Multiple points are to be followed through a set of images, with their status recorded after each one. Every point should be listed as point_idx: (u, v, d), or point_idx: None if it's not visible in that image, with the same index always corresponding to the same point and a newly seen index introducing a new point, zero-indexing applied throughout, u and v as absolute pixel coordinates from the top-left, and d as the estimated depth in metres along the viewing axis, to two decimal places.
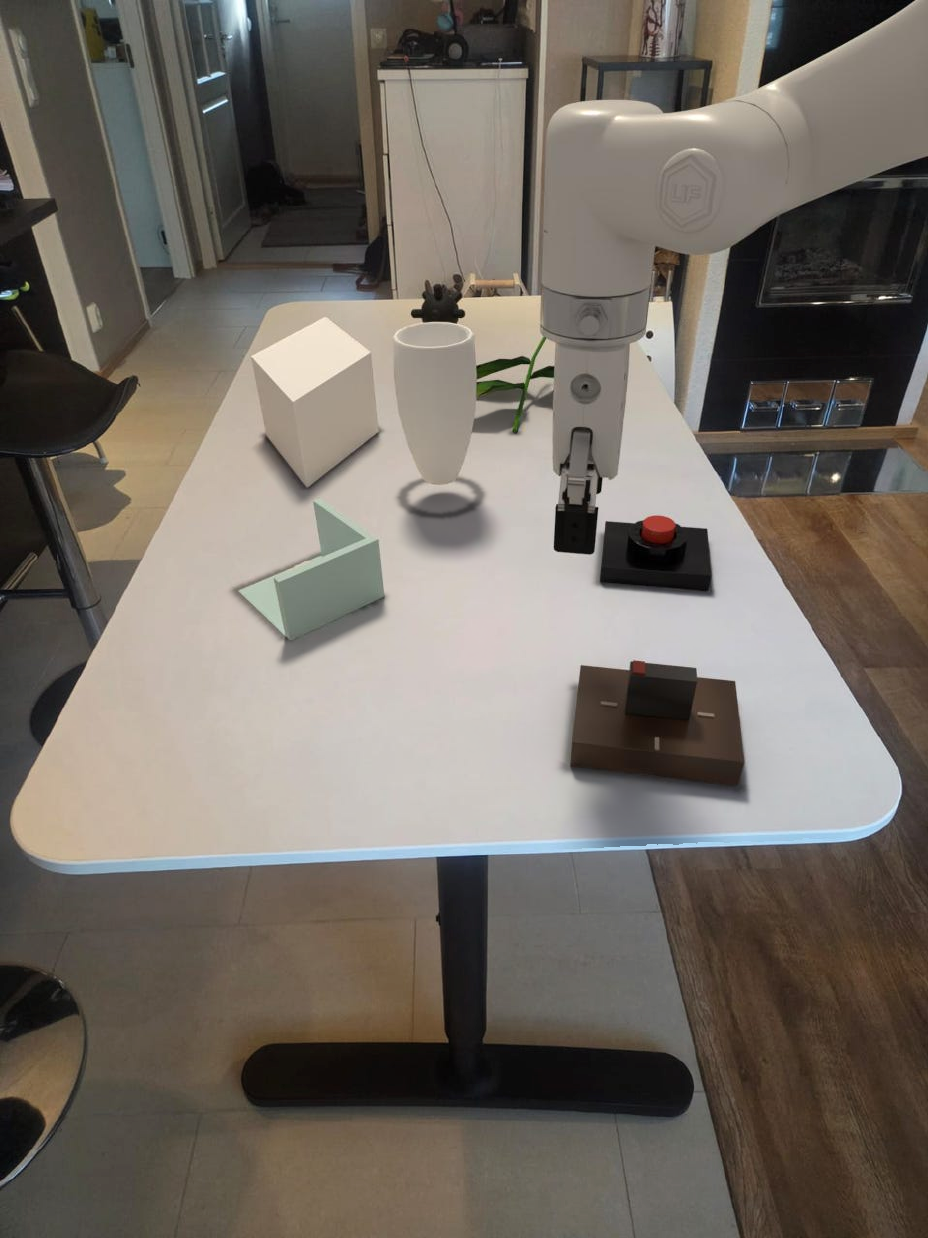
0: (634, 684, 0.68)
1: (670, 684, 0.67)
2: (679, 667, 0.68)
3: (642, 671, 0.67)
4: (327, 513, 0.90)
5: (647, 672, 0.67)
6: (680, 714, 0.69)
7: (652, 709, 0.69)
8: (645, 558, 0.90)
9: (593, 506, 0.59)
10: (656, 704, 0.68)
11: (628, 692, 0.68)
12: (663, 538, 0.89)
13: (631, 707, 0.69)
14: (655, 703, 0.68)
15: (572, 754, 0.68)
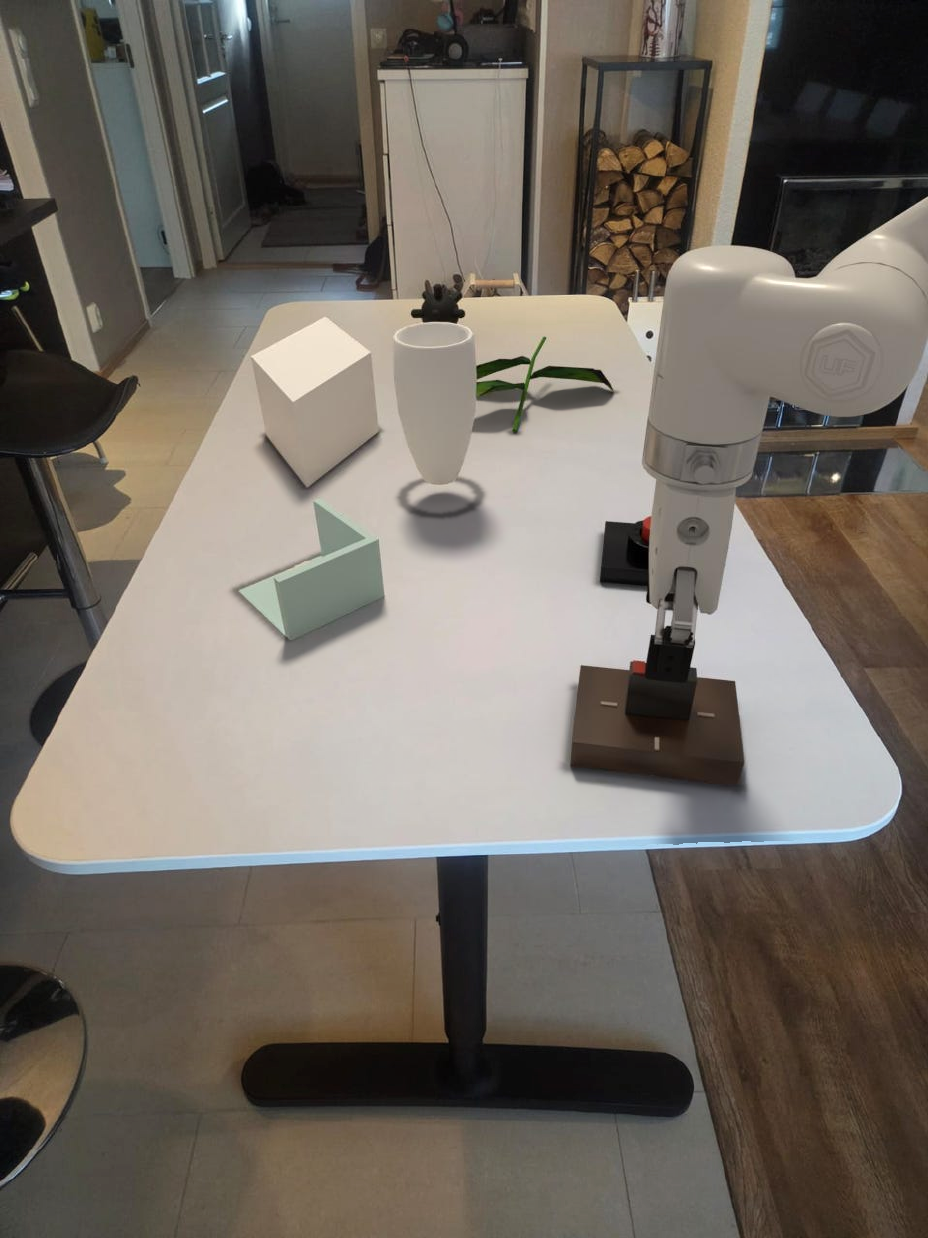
0: (634, 684, 0.68)
1: (670, 684, 0.67)
2: None
3: (642, 671, 0.67)
4: (328, 513, 0.90)
5: None
6: (680, 714, 0.69)
7: (652, 709, 0.69)
8: (645, 558, 0.90)
9: (692, 642, 0.57)
10: (656, 704, 0.68)
11: (628, 692, 0.68)
12: None
13: (631, 707, 0.69)
14: (655, 703, 0.68)
15: (572, 754, 0.68)
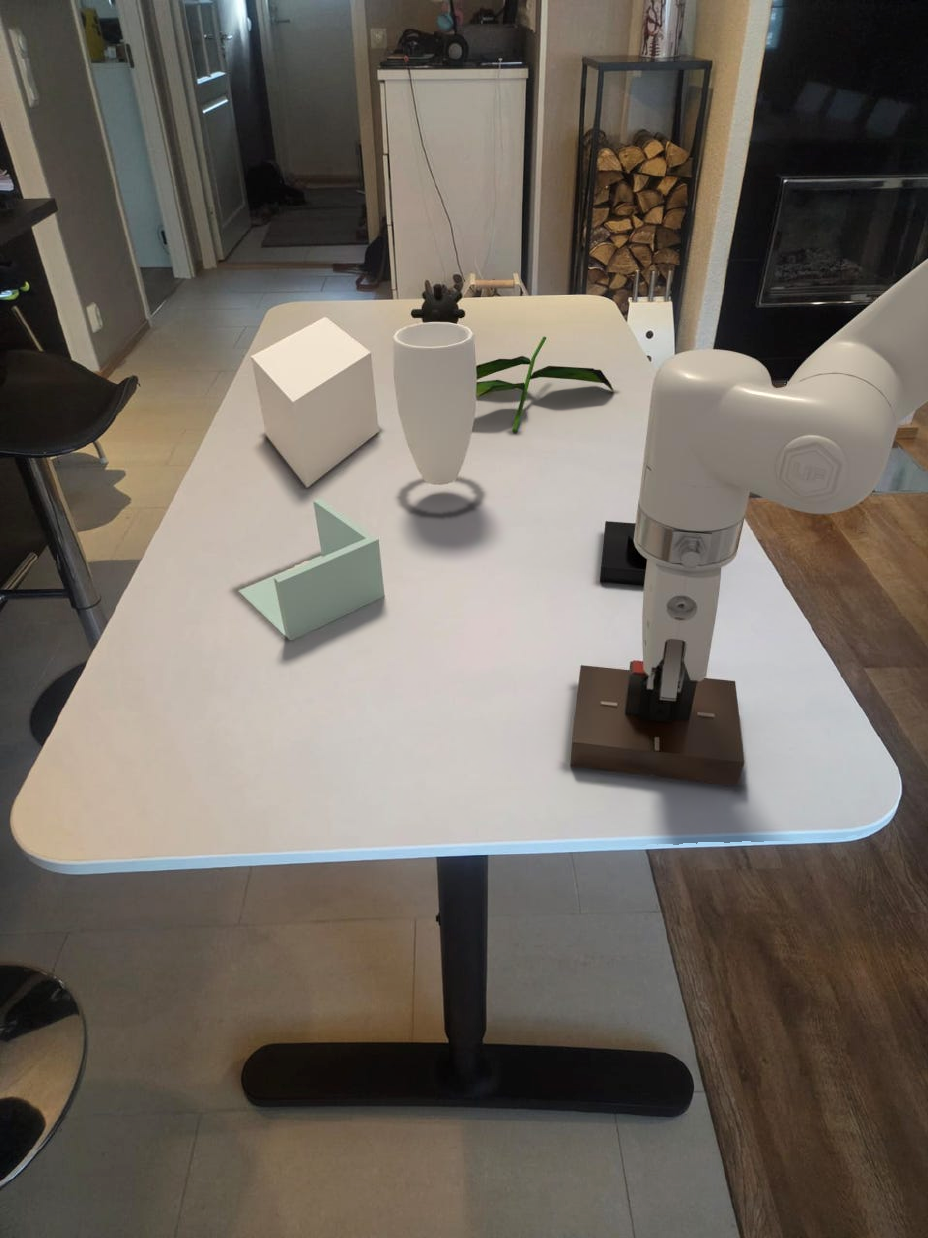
0: (634, 684, 0.68)
1: None
2: None
3: (642, 671, 0.67)
4: (327, 513, 0.90)
5: None
6: (680, 714, 0.69)
7: None
8: (645, 558, 0.90)
9: (679, 692, 0.65)
10: None
11: (628, 692, 0.68)
12: None
13: (631, 707, 0.69)
14: None
15: (572, 754, 0.68)
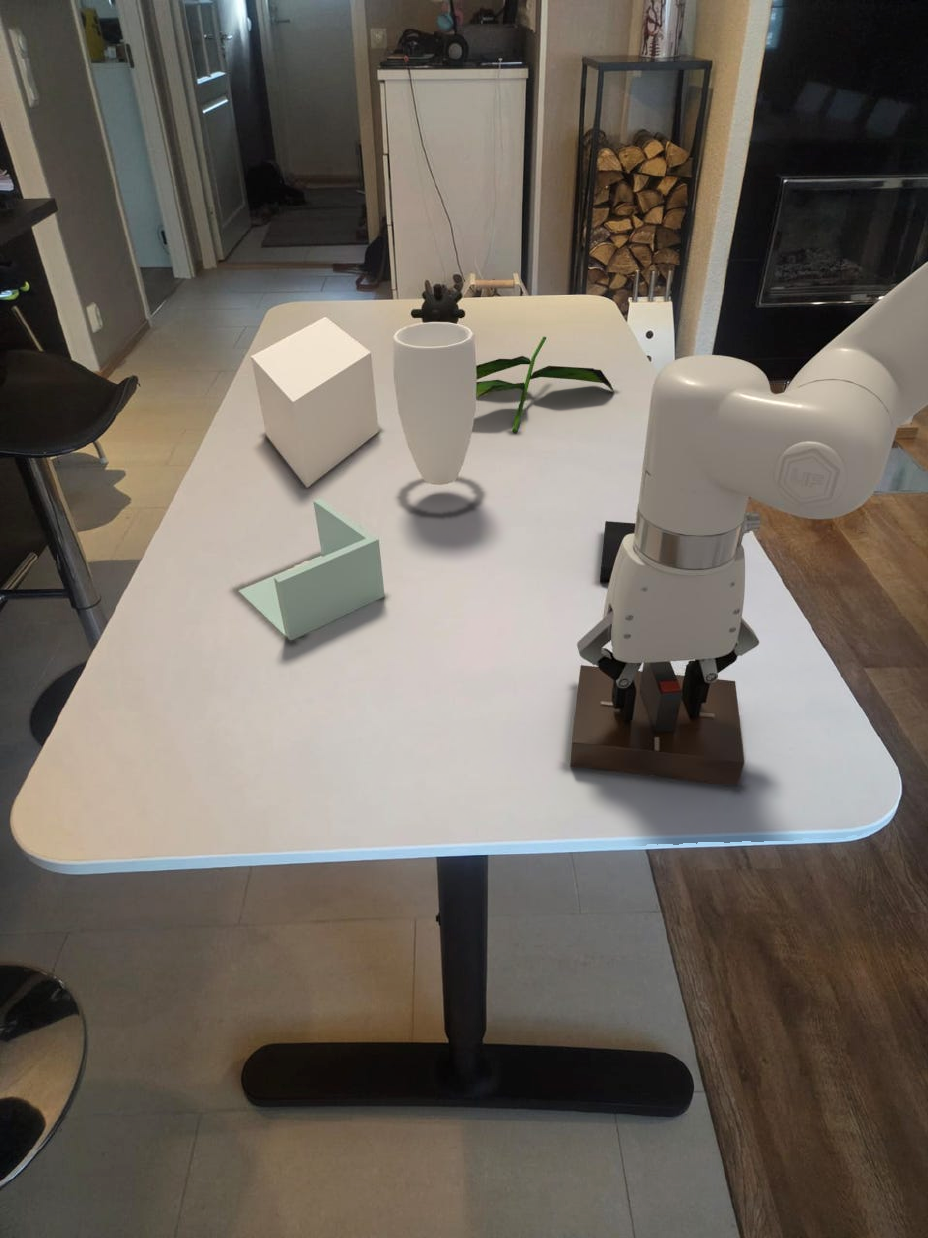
0: None
1: None
2: None
3: (675, 682, 0.66)
4: (328, 513, 0.90)
5: (672, 681, 0.66)
6: None
7: None
8: None
9: None
10: None
11: (678, 710, 0.66)
12: None
13: None
14: None
15: (572, 754, 0.68)
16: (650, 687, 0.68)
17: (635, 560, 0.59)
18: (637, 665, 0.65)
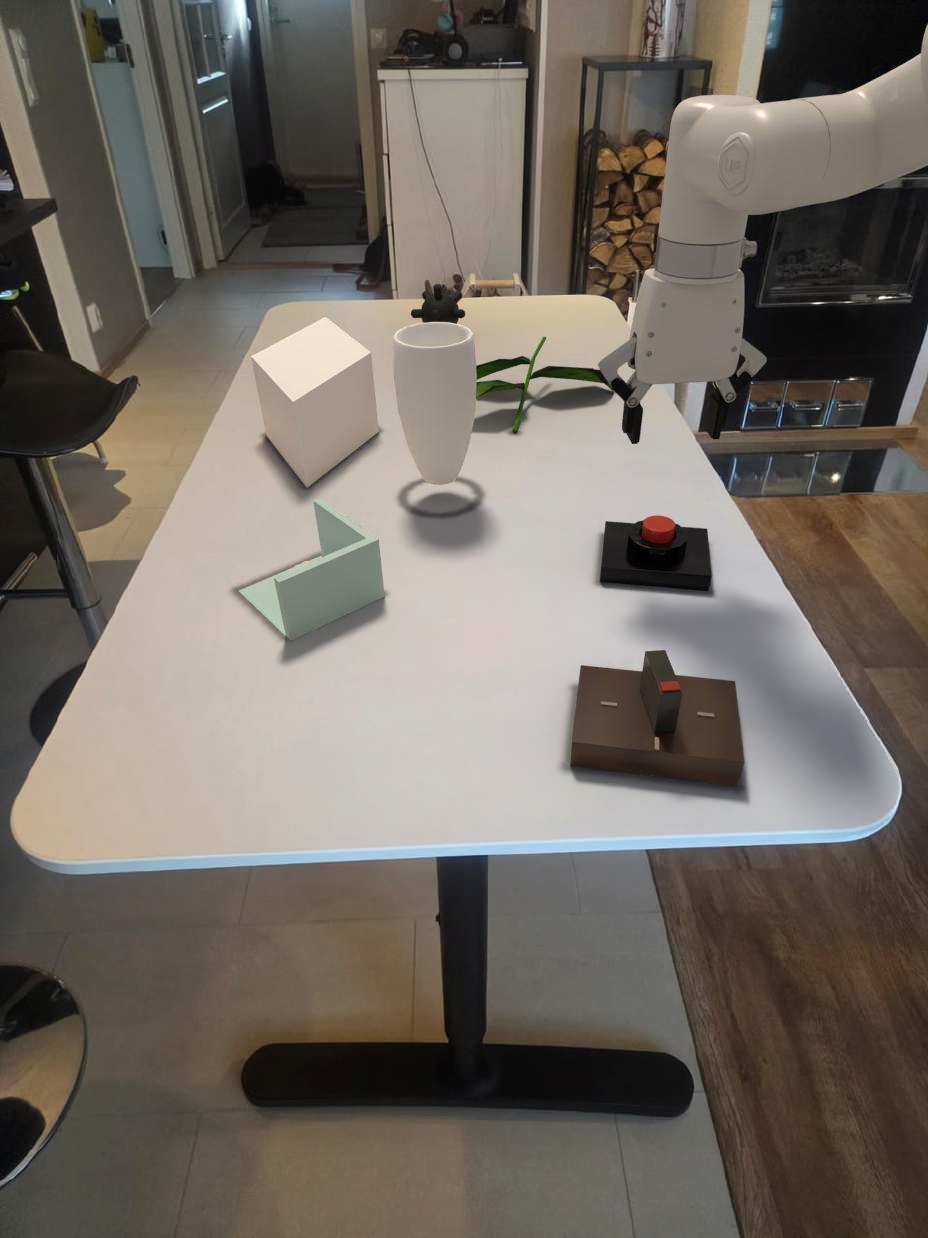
0: None
1: None
2: (651, 661, 0.68)
3: (675, 682, 0.66)
4: (328, 513, 0.90)
5: (672, 681, 0.66)
6: None
7: None
8: (645, 558, 0.90)
9: None
10: None
11: (678, 710, 0.66)
12: (663, 538, 0.89)
13: None
14: None
15: (572, 754, 0.68)
16: (650, 687, 0.68)
17: (656, 279, 0.73)
18: (648, 385, 0.79)
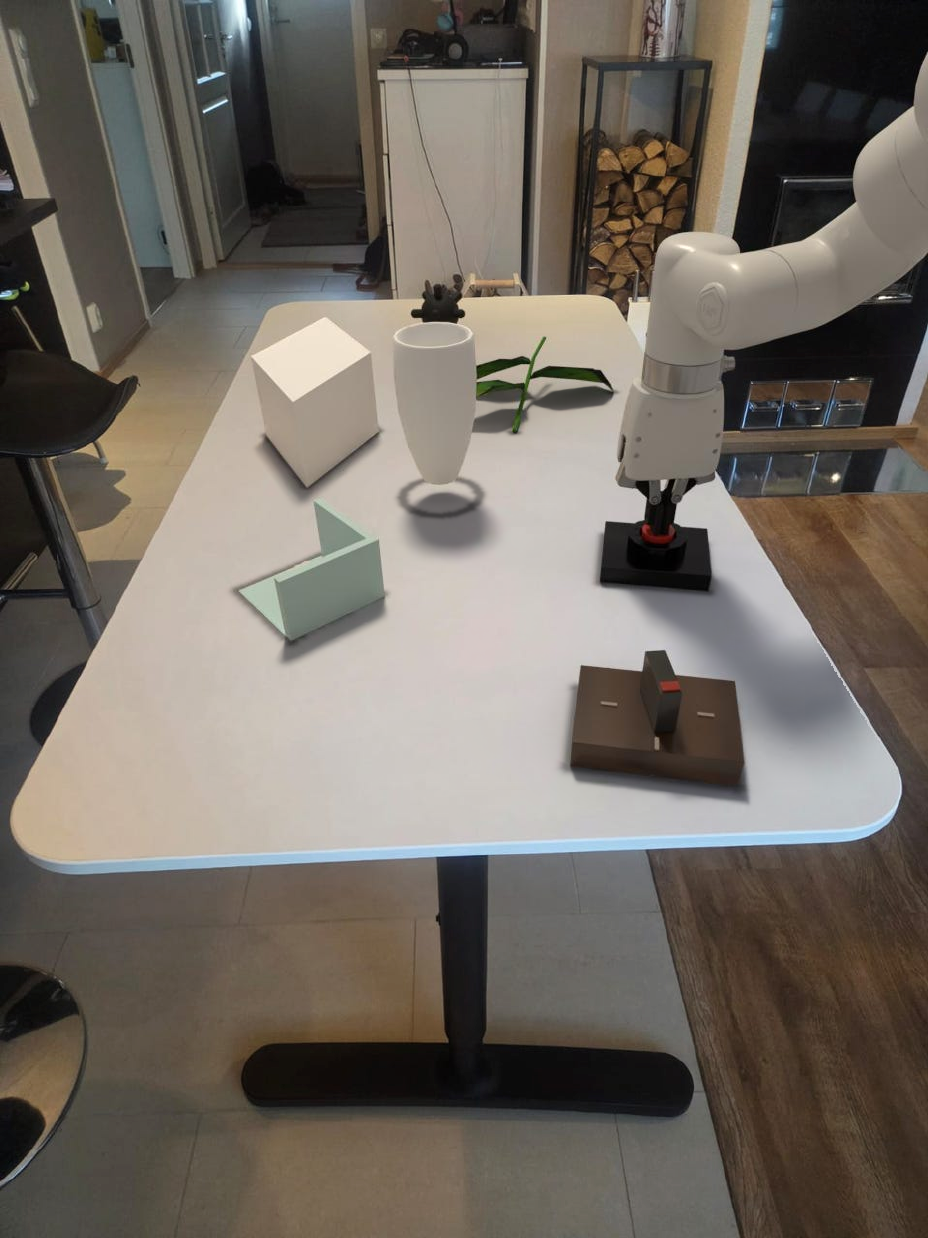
0: None
1: None
2: (651, 661, 0.68)
3: (675, 682, 0.66)
4: (328, 513, 0.90)
5: (672, 681, 0.66)
6: None
7: None
8: (645, 558, 0.90)
9: None
10: None
11: (678, 710, 0.66)
12: None
13: None
14: None
15: (572, 754, 0.68)
16: (650, 687, 0.68)
17: (643, 391, 0.79)
18: (657, 482, 0.86)
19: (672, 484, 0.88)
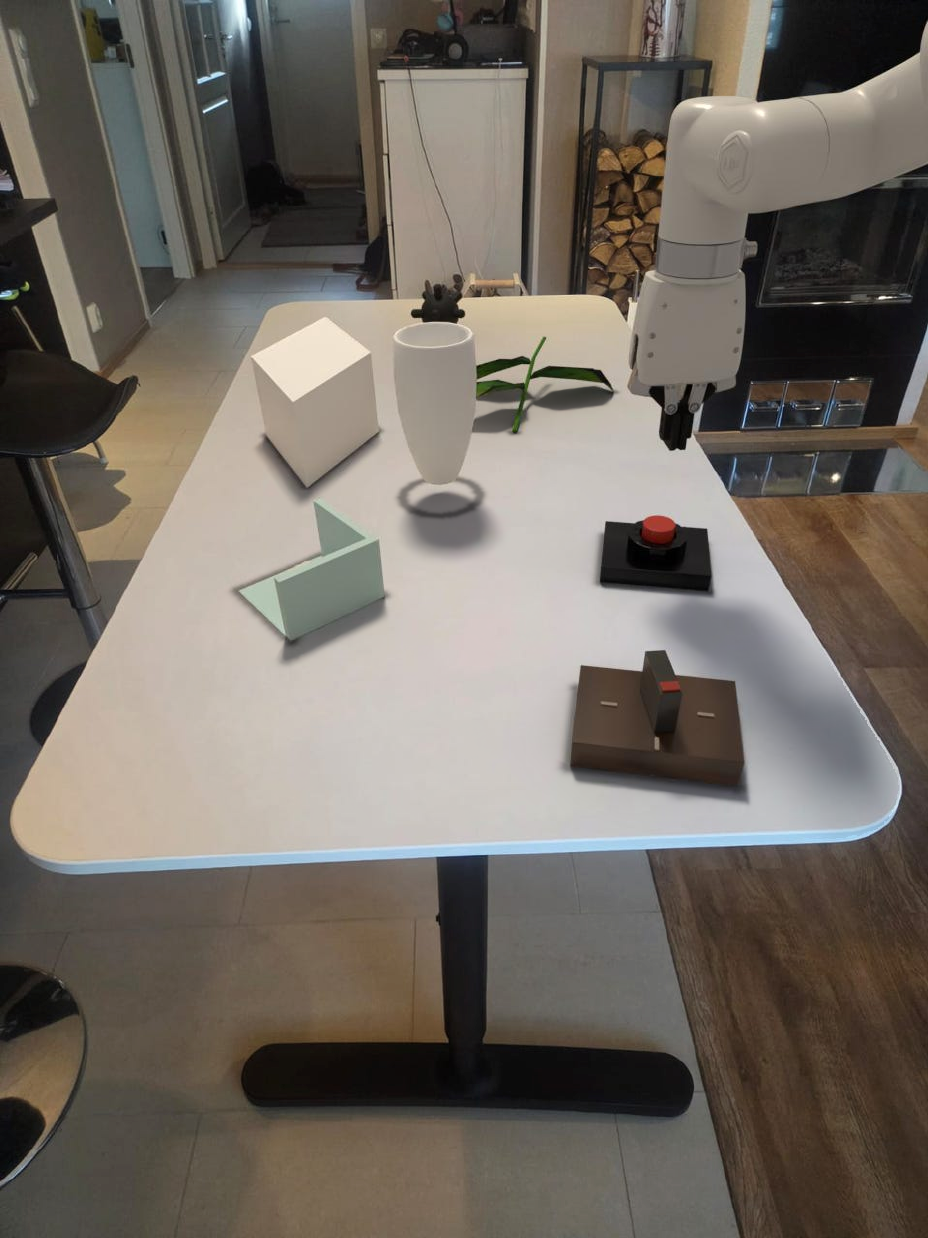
0: None
1: None
2: (651, 661, 0.68)
3: (675, 682, 0.66)
4: (328, 513, 0.90)
5: (672, 681, 0.66)
6: None
7: None
8: (645, 558, 0.90)
9: None
10: None
11: (678, 710, 0.66)
12: (663, 538, 0.89)
13: None
14: None
15: (572, 754, 0.68)
16: (650, 687, 0.68)
17: (657, 280, 0.73)
18: (673, 388, 0.79)
19: (689, 393, 0.81)
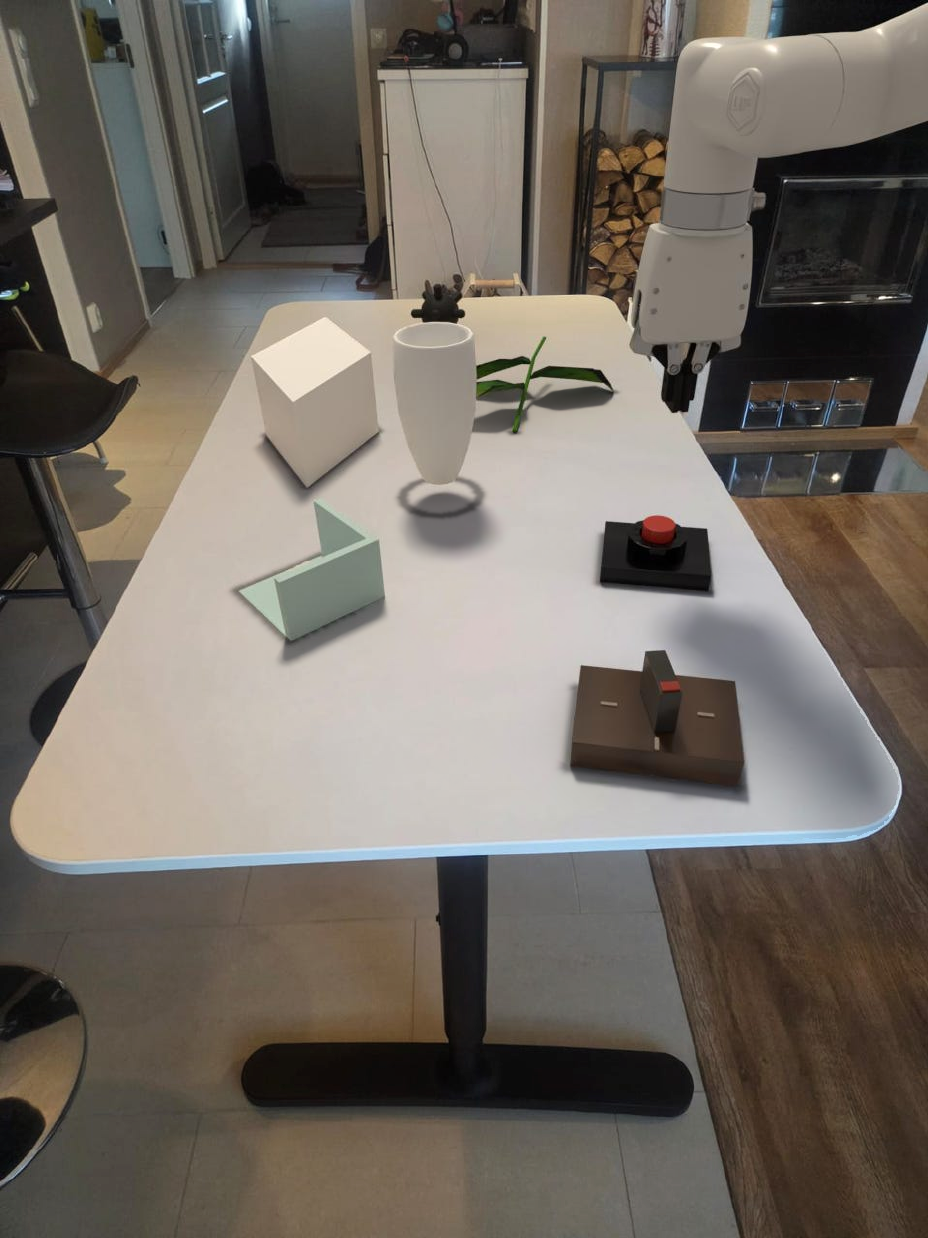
0: None
1: None
2: (651, 661, 0.68)
3: (675, 682, 0.66)
4: (328, 513, 0.90)
5: (672, 681, 0.66)
6: None
7: None
8: (645, 558, 0.90)
9: None
10: None
11: (678, 710, 0.66)
12: (663, 538, 0.89)
13: None
14: None
15: (572, 754, 0.68)
16: (650, 687, 0.68)
17: (661, 232, 0.70)
18: (677, 347, 0.77)
19: (692, 353, 0.79)
